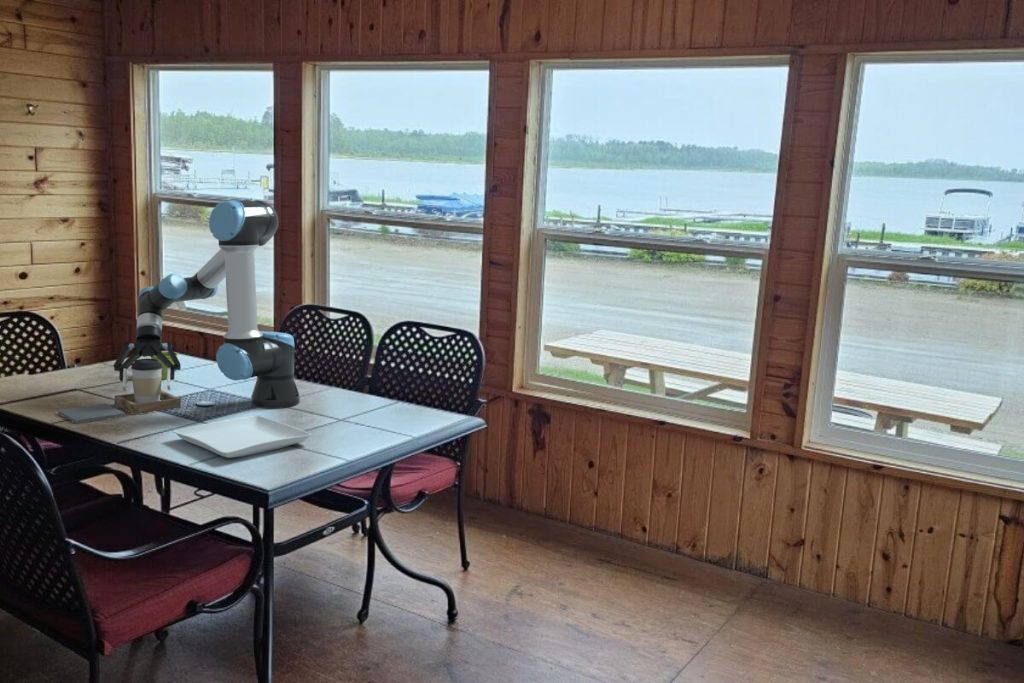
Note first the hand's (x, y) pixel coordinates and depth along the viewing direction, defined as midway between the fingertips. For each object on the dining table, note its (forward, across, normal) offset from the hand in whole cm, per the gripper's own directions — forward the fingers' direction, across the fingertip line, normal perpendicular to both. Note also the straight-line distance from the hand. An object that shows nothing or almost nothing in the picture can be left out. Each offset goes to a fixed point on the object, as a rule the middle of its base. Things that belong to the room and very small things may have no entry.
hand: (146, 388), depth 279 cm
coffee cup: (+3, 0, -6) cm, 7 cm away
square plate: (+34, -28, +24) cm, 50 cm away
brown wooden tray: (+3, 0, -6) cm, 7 cm away
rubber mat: (+8, +15, -1) cm, 17 cm away
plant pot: (-25, -3, -35) cm, 43 cm away
